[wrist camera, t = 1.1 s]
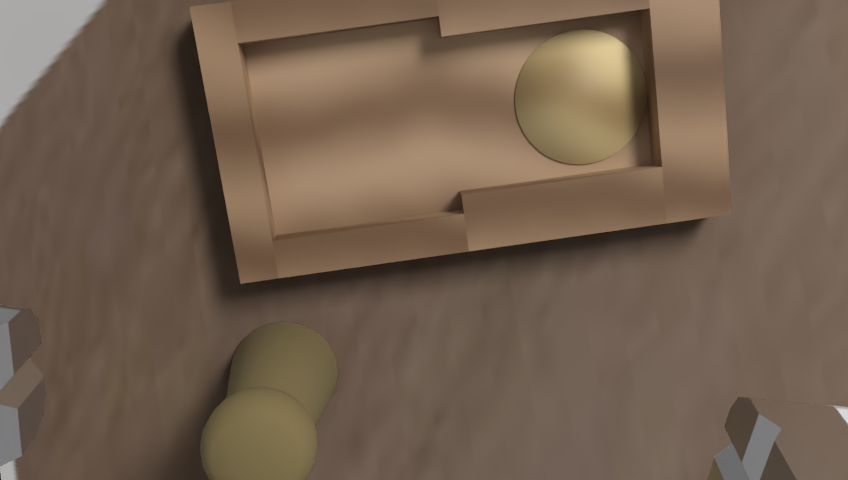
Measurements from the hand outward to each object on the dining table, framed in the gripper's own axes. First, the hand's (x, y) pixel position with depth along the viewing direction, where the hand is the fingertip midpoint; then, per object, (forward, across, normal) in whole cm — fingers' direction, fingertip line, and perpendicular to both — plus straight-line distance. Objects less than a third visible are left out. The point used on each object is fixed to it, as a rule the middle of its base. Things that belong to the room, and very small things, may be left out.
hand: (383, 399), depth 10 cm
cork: (+31, -6, -21) cm, 37 cm away
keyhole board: (+34, +2, -5) cm, 35 cm away
